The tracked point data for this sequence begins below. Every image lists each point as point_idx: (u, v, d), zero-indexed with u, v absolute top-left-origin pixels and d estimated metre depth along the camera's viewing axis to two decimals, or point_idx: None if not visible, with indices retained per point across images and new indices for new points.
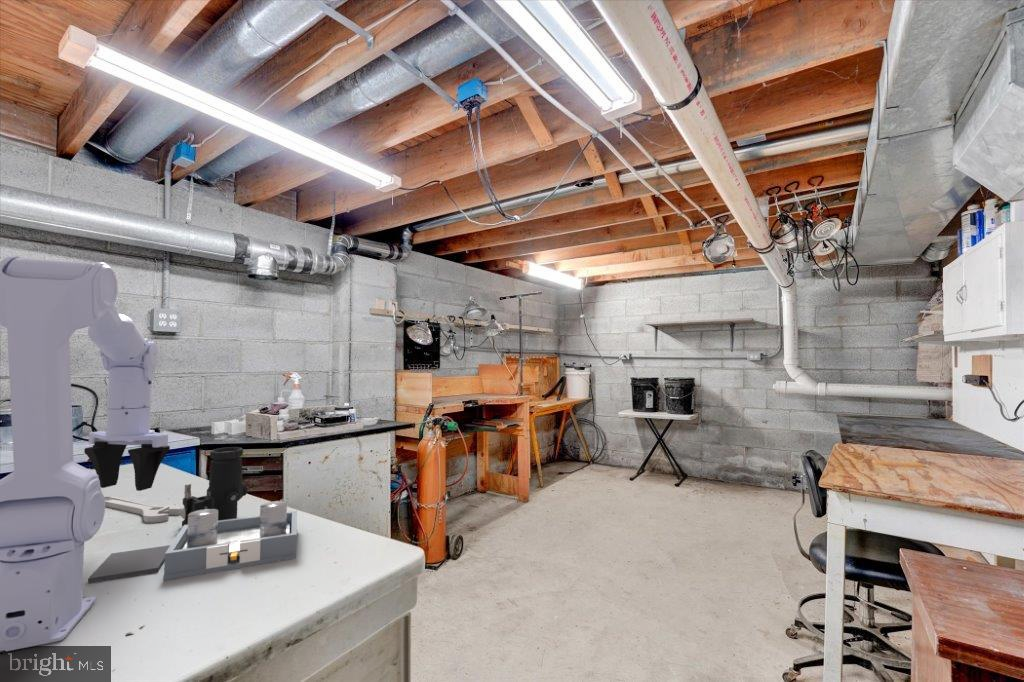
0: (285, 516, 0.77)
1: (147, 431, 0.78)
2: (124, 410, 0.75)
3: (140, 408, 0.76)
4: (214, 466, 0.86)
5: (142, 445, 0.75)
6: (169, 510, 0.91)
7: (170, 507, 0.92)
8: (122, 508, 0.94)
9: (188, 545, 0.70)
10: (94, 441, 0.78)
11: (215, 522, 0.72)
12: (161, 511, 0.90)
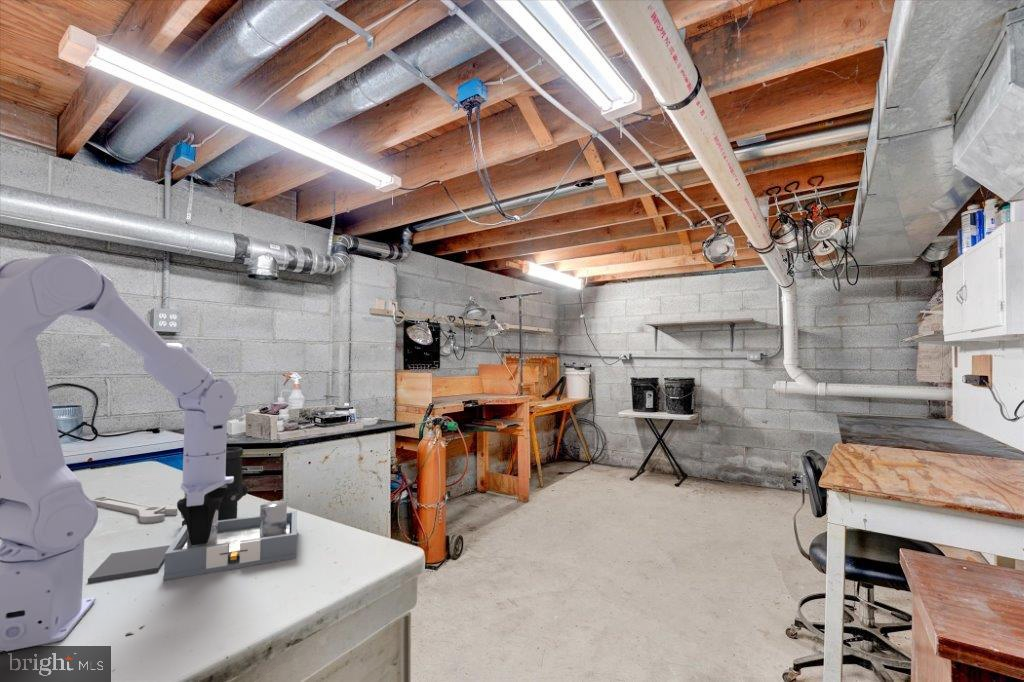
0: (285, 516, 0.77)
1: (210, 481, 0.71)
2: (186, 457, 0.70)
3: (199, 456, 0.70)
4: None
5: None
6: (165, 510, 0.91)
7: (166, 507, 0.92)
8: (118, 508, 0.93)
9: (188, 545, 0.70)
10: None
11: (215, 522, 0.72)
12: (157, 511, 0.90)
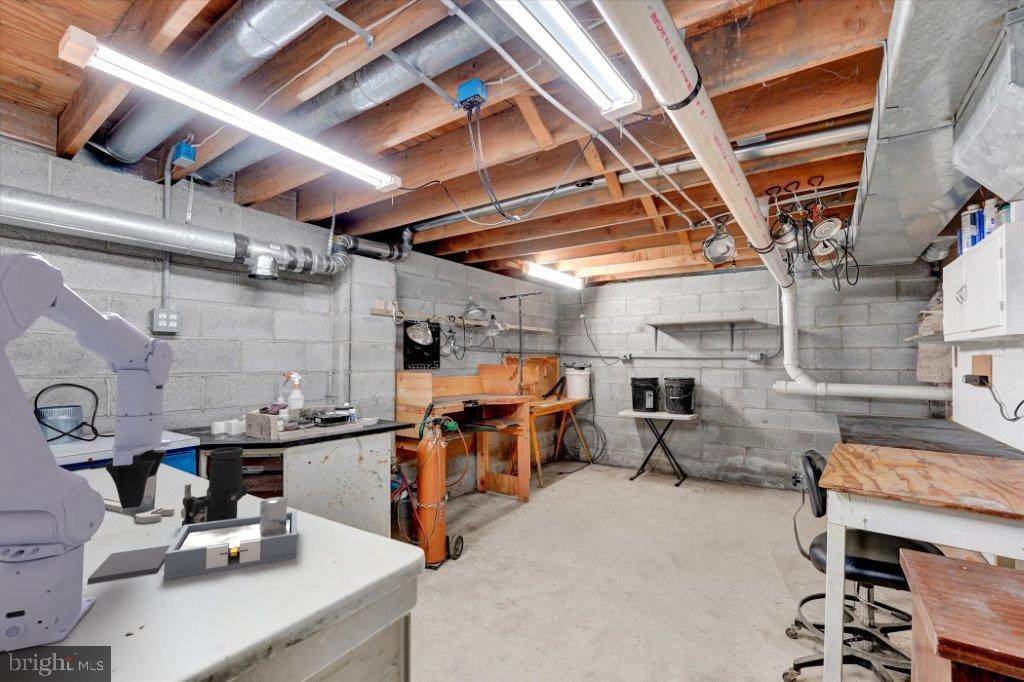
0: (285, 512, 0.77)
1: (142, 443, 0.68)
2: (117, 417, 0.68)
3: (130, 416, 0.68)
4: (214, 466, 0.86)
5: None
6: (162, 511, 0.91)
7: (163, 508, 0.92)
8: (114, 509, 0.93)
9: (122, 509, 0.68)
10: None
11: (151, 488, 0.70)
12: (154, 512, 0.90)
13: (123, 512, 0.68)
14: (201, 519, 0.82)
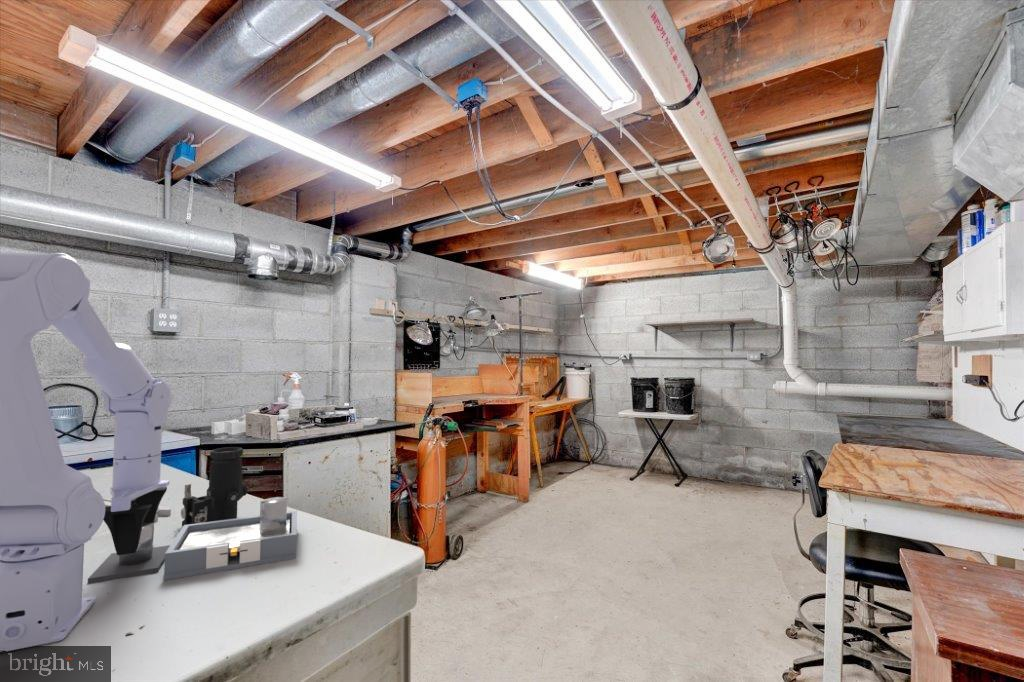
0: (285, 512, 0.77)
1: (141, 486, 0.68)
2: (115, 460, 0.67)
3: (128, 459, 0.67)
4: (214, 466, 0.86)
5: None
6: (158, 511, 0.91)
7: (159, 508, 0.92)
8: None
9: (119, 560, 0.68)
10: None
11: (149, 537, 0.70)
12: None
13: (121, 563, 0.68)
14: (201, 519, 0.82)
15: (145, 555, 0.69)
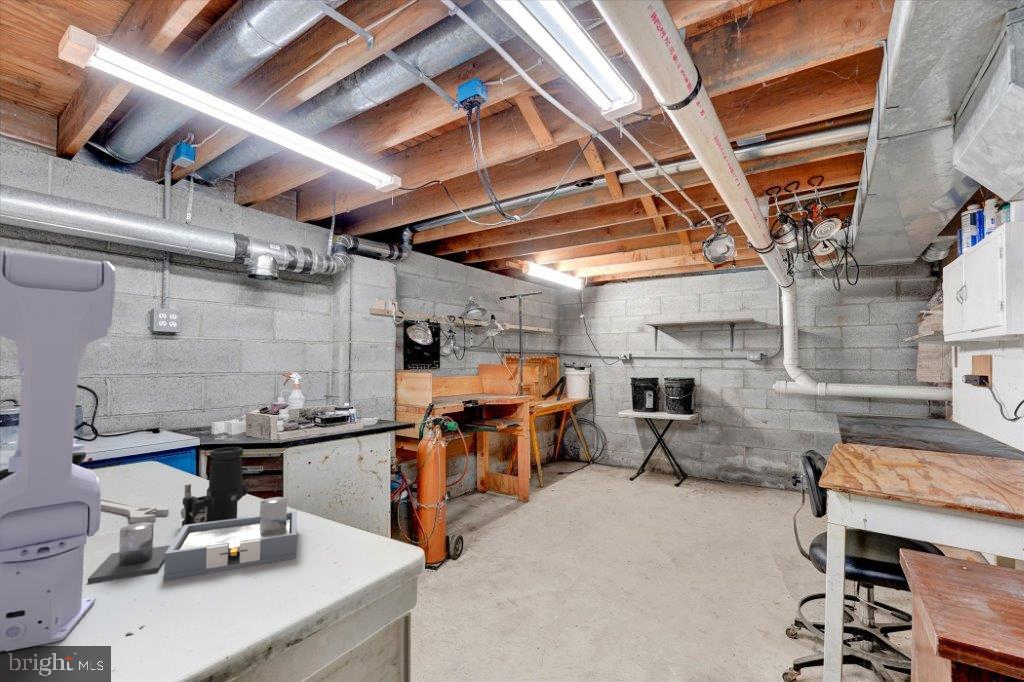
0: (285, 512, 0.77)
1: None
2: (20, 420, 0.64)
3: None
4: (214, 466, 0.86)
5: None
6: (156, 511, 0.91)
7: (157, 508, 0.91)
8: (108, 509, 0.93)
9: (119, 560, 0.68)
10: None
11: (148, 537, 0.69)
12: (148, 512, 0.90)
13: (121, 564, 0.68)
14: (201, 519, 0.82)
15: (145, 555, 0.69)
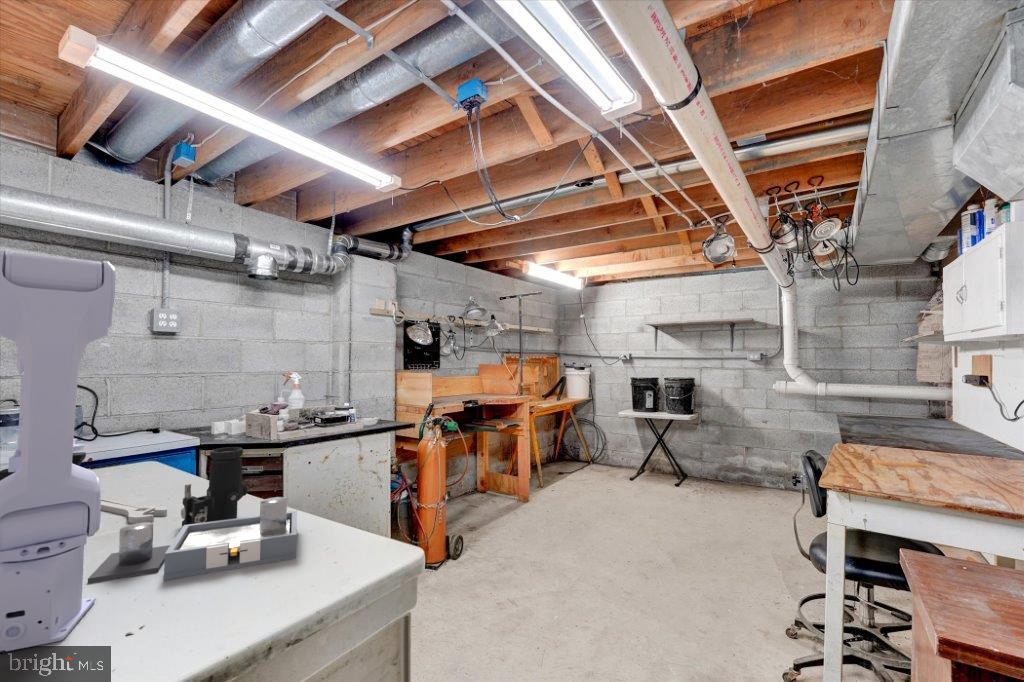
0: (285, 512, 0.77)
1: None
2: (20, 420, 0.64)
3: None
4: (214, 466, 0.86)
5: None
6: (155, 511, 0.90)
7: (156, 508, 0.91)
8: (107, 509, 0.93)
9: (119, 560, 0.68)
10: None
11: (148, 537, 0.69)
12: (146, 512, 0.90)
13: (120, 564, 0.68)
14: (201, 519, 0.82)
15: (145, 555, 0.69)
